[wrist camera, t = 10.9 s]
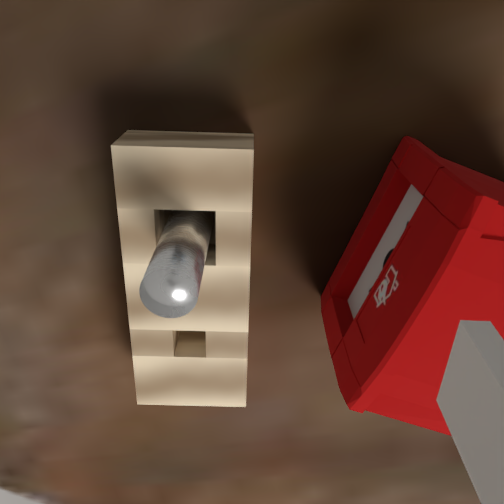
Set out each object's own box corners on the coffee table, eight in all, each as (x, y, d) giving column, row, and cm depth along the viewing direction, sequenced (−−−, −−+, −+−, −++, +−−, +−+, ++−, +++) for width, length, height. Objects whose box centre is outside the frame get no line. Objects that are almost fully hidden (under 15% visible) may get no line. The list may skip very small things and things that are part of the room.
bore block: (127, 129, 38) (110, 145, 33) (253, 133, 38) (253, 149, 33) (148, 368, 48) (137, 404, 44) (246, 370, 49) (245, 406, 44)
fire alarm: (399, 132, 38) (479, 196, 24) (514, 178, 40) (648, 262, 26) (315, 295, 45) (342, 416, 31) (417, 329, 46) (484, 457, 33)
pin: (169, 197, 39) (137, 266, 28) (213, 198, 39) (197, 268, 28) (171, 237, 41) (141, 317, 30) (213, 238, 41) (198, 319, 30)
